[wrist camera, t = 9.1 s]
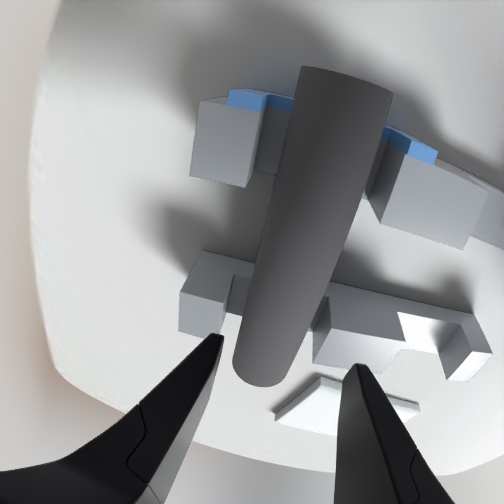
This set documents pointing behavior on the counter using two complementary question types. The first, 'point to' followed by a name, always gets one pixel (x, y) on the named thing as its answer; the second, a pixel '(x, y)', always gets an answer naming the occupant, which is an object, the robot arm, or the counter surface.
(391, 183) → the grey blocky pieces
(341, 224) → the dark grey cylinder
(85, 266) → the counter surface
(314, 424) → the external hard drive
